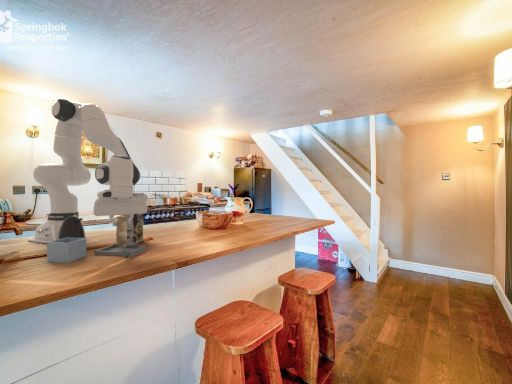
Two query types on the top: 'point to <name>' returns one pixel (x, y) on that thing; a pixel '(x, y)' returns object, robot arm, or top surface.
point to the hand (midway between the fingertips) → (121, 225)
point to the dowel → (121, 231)
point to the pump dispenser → (71, 228)
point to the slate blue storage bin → (66, 249)
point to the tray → (121, 250)
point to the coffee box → (135, 229)
